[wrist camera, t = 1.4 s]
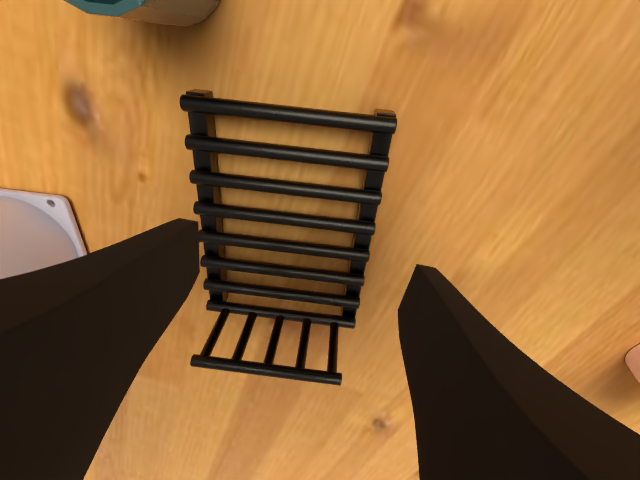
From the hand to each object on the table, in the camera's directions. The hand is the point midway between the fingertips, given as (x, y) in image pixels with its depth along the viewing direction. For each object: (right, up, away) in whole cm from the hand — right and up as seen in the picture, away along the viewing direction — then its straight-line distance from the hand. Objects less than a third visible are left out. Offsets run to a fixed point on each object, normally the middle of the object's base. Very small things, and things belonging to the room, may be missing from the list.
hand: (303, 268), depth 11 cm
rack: (-2, +2, +11) cm, 11 cm away
